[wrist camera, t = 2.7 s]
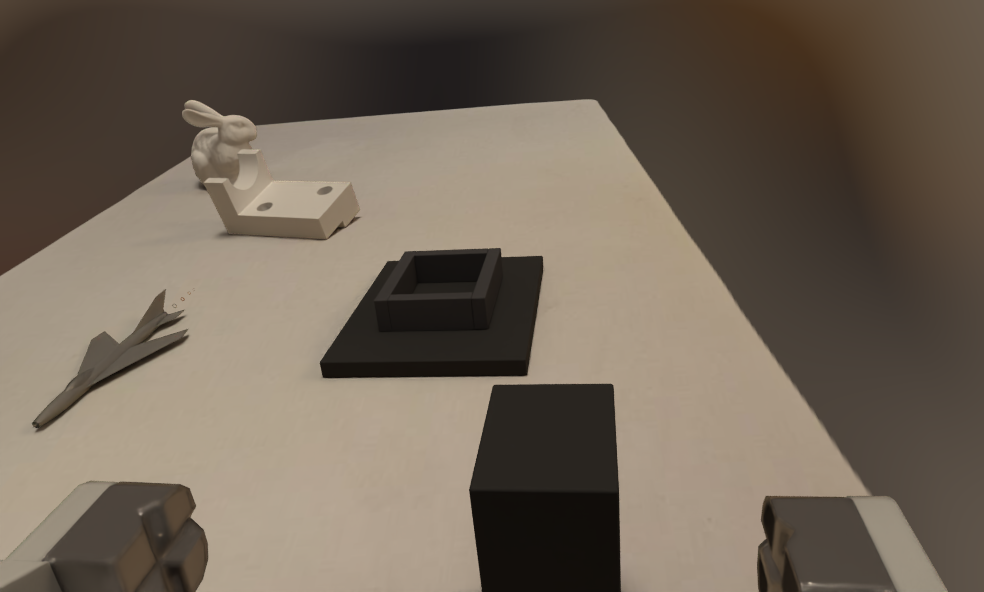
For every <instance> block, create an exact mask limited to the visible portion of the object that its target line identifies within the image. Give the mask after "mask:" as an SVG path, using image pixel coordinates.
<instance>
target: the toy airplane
mask: <svg viewBox="0 0 984 592" xmlns="http://www.w3.org/2000/svg"><path fill="white" fill-rule="evenodd" d="M192 290H193V289H192ZM165 291H166V289H165V290H164V291H162V292H161V293H160V294H159V295H158V296H156V297H155V299H154V301H153V302H152V304H151V305H150V307H149V309H148V310H147V312H146V313H145V315H144V316H143V318H142V320H141V321H140V323H139V324H138V326H137V327H136V329H135V331H134V332H133V333H132V334H131V335H130V336H129V337H127V338H126V339H125V340H124V341H123V342H121V343H120V344H119V343H118V342H116V341H115V340H114V339H113V338H112V337H111V336H110V335H108V334H107V333H106V332H103V333H101V334H100V335H98V336H97V337H95V338H93V339H92V340H91V342H90V345H89V347H88V350H87V352H86V355H85V357H84V360H83V362H82V365H81V367H80V370H79V372H78V375H77V376H76V377H75V378H74V379H73V380H72V381H71V382H70V383H69V384H68V385H67V387H66V389H65V390H64V391H63V392H62V393H61V394H59V395H58V396H57V397H56V398H55V399H54V400H53V401H52V402H51V403H50V404H49V405H48V406H47V407H46V408H45V409H44V410H43V411H42V412H41V413H40V414H39V415H38V417H37V418H36V419H35V420H34V421H33V423H32V425H33V427H36V428H39V427H40V426H42V425H44V424H45V423H47V422H48V421H50V420H51V419H53V418H54V417H56V416H57V415H59V414H60V413H61V412H63V411H64V410H65V409H66V408H68V407H69V406H70V405H71V404H72V403H74V402H75V401H76V400H77V399H78V398H79V397H80V396H82V395H83V394H84V393H85V392H86V391H87V390H88V389H90V388H91V387H92V386H93V385H94V384H95V383H96V382H98V381H100V380H101V379H103V378H105V377H107V376H109V375H111V374H113V373H115V372H117V371H119V370H121V369H122V368H124V367H126V366H128V365H130V364H132V363H134V362H136V361H138V360H140V359H142V358H144V357H145V356H147V355H149V354H151V353H153V352H155V351H157V350H159V349H161V348H163V347H165V346H166V345H168V344H170V343H172V342H174V341H176V340H178V339H180V338H182V337H183V336H184V334H185V333H186V332H187V330H188V329H186V330H183V331H180V332H177V333H174V334H170V335H167V336H164V337H161V338H157V339H154V340H151V341H148V342H145V343H142V342H143V341H144V340H145V339H146V338H147V337H148V336H150V335H151V334H152V333H153V332H154V331H155V330H156V329H157V328H158V327H159V325H161V324H163V323H166V322H168V321H170V320H172V319H174V318H176V317H177V316H179V315H180V314H181V313H182V312H183V311H184V310H182V311H179V312H175V313H172V314H167V312H164V309H163V307H164V299H165ZM193 291H194V290H193ZM190 294H191V293H190ZM190 294H189V295H190ZM181 298H183V297H181ZM181 300H182V299H181ZM182 301H184V300H182ZM173 305H174V304H173ZM173 305H172V306H173ZM175 305H176V304H175ZM176 307H177V305H176ZM176 307H174V308H176Z"/></svg>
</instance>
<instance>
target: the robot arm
mask: <svg viewBox="0 0 984 592" xmlns="http://www.w3.org/2000/svg"><path fill="white" fill-rule="evenodd" d="M195 507H196V504H195V502H194V499H193V496H192V494H191V491H190V488H188V487H185V486H183V485H181V484H164V483H142V482H106V481H89V482H86V483H83V484H80V485H78V486H77V487H76V488H75V489H74V490H73V491H72V492H71V493H70V494H69V495H68V496H67V497H66V498H65V499H64V500H63V501H62V502H61V503H60V504H59V505H58V506H57V507H56V508H55V509H54V510H53V511H52V512H51V513H50V514H49V515H48V516H47V518H46V519H45V520H44V521H43V522H42V523H41V524H40V525H39V526H38V527H37V528H36V529H35V530H34V531H33V532H32V533H31V534H30V535H29V536H28V537H27V538H26V539H25V540H24V541H23V542H22V543H21V544H20V545H19V546H18V547H17V548H16V549H15V550H14V551H13V552H12V553H11V554H10V555H9V556H8V557H7V558H6V559H5V560H0V592H196V590H197V588H198V587H199V585H200V583H201V582H202V580H203V577H204V573H205V569H206V566H207V562H208V542H207V539H206V536H205V532H204V530H203V529H202V528H201V527H200V526H199V525H198V524H197V523H196V522H195V521H194V520H192V519H191V518H190V517H191V515H192V513H193V511H194V509H195ZM761 522H762V525H763V528H764V532H765V535H766V538H767V539H766V540H764V541H763V542H762V543H761V544H760V545H759V546H758V560H757V574H758V589H759V592H948V591H947V589H946V587H945V586H944V584H943V582H942V580H941V579H940V577H939V575H938V574H937V572H936V570H935V569H934V567H933V565H932V563H931V561H930V560H929V558H928V556H927V555H926V553H925V551H924V549H923V548H922V546H921V544H920V542H919V541H918V539H917V537H916V536H915V534H914V532H913V530H912V529H911V527H910V525H909V524H908V522H907V520H906V518H905V517H904V515H903V513H902V511H901V510H900V508H899V506H898V505H897V503H896V501H894V500H893V499H892V498H890V497H889V496H847V497H808V496H766V497H765V499H764V502H763V507H762V516H761Z"/></svg>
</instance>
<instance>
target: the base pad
mask: <svg viewBox="0 0 984 592" xmlns="http://www.w3.org/2000/svg"><path fill="white" fill-rule="evenodd" d="M542 273H543V257H542V256H527V257H501V249H500V248H492V249H489V250H488V249H463V250H436V251H417V252H416V251H408V252H405V253H404V254H403V256H402V257H401V259H400V260H399V261H388V262H387V263H386V265H385V266H384V268H383V269H382V271H381V272H380V274H379V275H378V277H377V278H376V280H375V281H374V283H373V284H372V286H371V287H370V288H369V290H368V291H367V293H366V294H365V296H364V297H363V299H362V300H361V302H360V303H359V305H358V306H357V308H356V309H355V311H354V312H353V314H352V315H351V317H350V318H349V320H348V321H347V323H346V324H345V326H344V327H343V329H342V330H341V332H340V333H339V335H338V336H337V338H336V339H335V341H334V342H333V344H332V345H331V347H330V348H329V350H328V351H327V353H326V354H325V355H324V357H323V358H322V360H321V361H320V366H321V371H322V375H323V377H381V376H478V375H527V370H528V364H529V357H530V351H531V344H532V338H533V332H534V325H535V319H536V312H537V306H538V299H539V293H540V286H541V280H542Z"/></svg>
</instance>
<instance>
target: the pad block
mask: <svg viewBox="0 0 984 592" xmlns="http://www.w3.org/2000/svg"><path fill="white" fill-rule="evenodd" d="M469 492H470V500H471V508H472V516H473V524H474V531H475V539H476V547H477V555H478V563H479V571H480V579H481V587H482V592H621V579H620V521H619V482H618V463H617V444H616V425H615V406H614V387H613V385H612V384H533V385H494V386H493V388H492V393H491V397H490V401H489V406H488V410H487V415H486V419H485V423H484V428H483V432H482V436H481V441H480V445H479V449H478V454H477V458H476V463H475V467H474V471H473V476H472V480H471V484H470V489H469Z"/></svg>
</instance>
